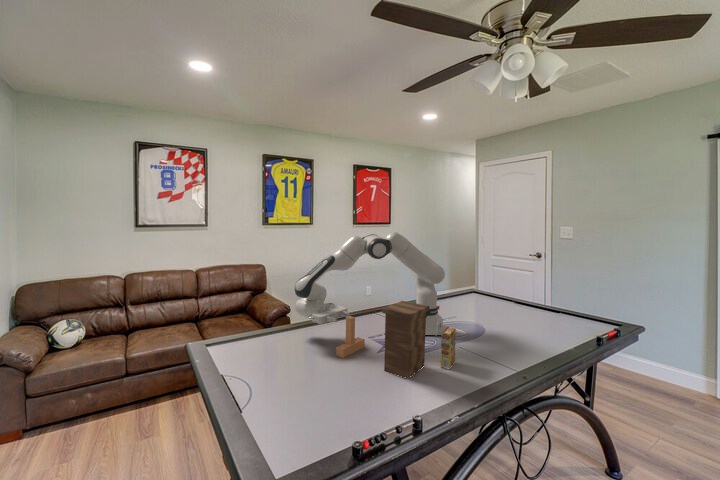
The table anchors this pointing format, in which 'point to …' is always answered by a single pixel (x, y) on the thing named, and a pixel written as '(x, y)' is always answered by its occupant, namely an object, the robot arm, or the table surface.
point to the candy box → (448, 347)
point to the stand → (404, 338)
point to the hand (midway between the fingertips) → (342, 317)
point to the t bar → (350, 340)
